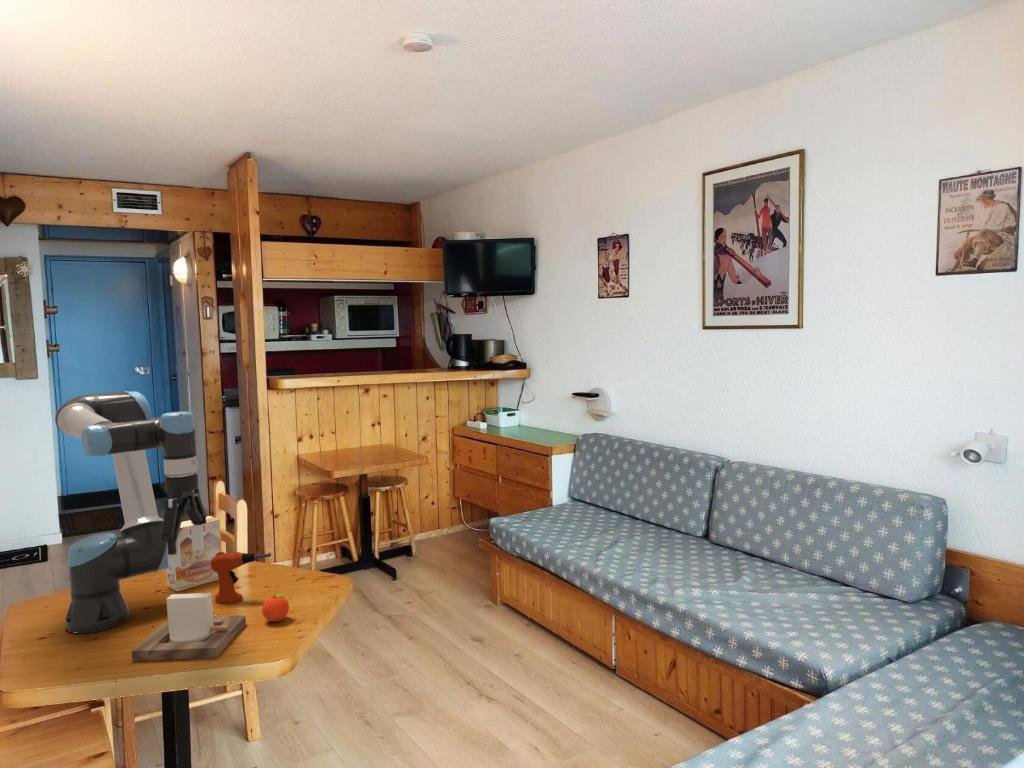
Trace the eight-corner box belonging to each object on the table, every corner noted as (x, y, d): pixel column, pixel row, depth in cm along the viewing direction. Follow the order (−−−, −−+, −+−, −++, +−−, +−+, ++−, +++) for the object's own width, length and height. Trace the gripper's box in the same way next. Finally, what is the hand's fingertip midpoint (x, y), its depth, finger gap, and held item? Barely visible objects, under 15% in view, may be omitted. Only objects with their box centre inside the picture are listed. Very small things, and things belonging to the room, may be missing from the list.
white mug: (162, 647, 178) (159, 604, 177) (180, 630, 188) (178, 589, 187) (220, 645, 178) (217, 601, 177) (235, 628, 188) (232, 587, 187)
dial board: (132, 661, 173) (131, 650, 172) (170, 627, 193) (169, 617, 192) (216, 658, 173) (215, 647, 173) (245, 624, 193) (245, 614, 193)
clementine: (286, 612, 200) (284, 587, 200) (298, 619, 195) (296, 593, 195) (258, 621, 195) (256, 595, 194) (269, 628, 190) (268, 602, 189)
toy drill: (275, 598, 207) (265, 547, 206) (212, 606, 209) (203, 556, 208) (281, 592, 212) (272, 542, 211) (220, 600, 214) (211, 551, 213)
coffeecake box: (177, 592, 219) (172, 529, 218) (166, 587, 224) (162, 525, 223) (224, 578, 231) (220, 518, 229) (213, 574, 235) (209, 515, 234)
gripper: (173, 484, 167) (179, 573, 169) (216, 464, 192) (221, 542, 194) (141, 485, 167) (147, 575, 169) (187, 465, 192) (193, 544, 193)
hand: (187, 558), depth 181 cm, fingers open, 13 cm apart
